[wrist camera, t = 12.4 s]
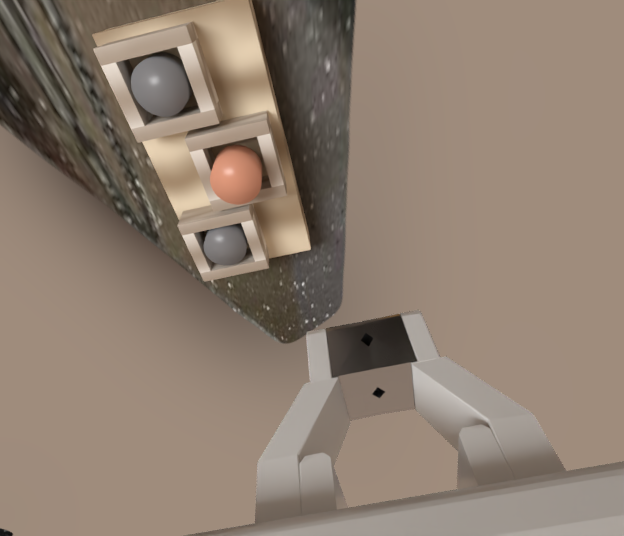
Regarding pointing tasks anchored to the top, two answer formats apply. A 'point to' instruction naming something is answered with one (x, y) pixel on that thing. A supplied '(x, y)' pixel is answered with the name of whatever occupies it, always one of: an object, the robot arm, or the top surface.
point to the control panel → (212, 127)
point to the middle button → (236, 174)
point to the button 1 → (161, 84)
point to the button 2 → (226, 244)
